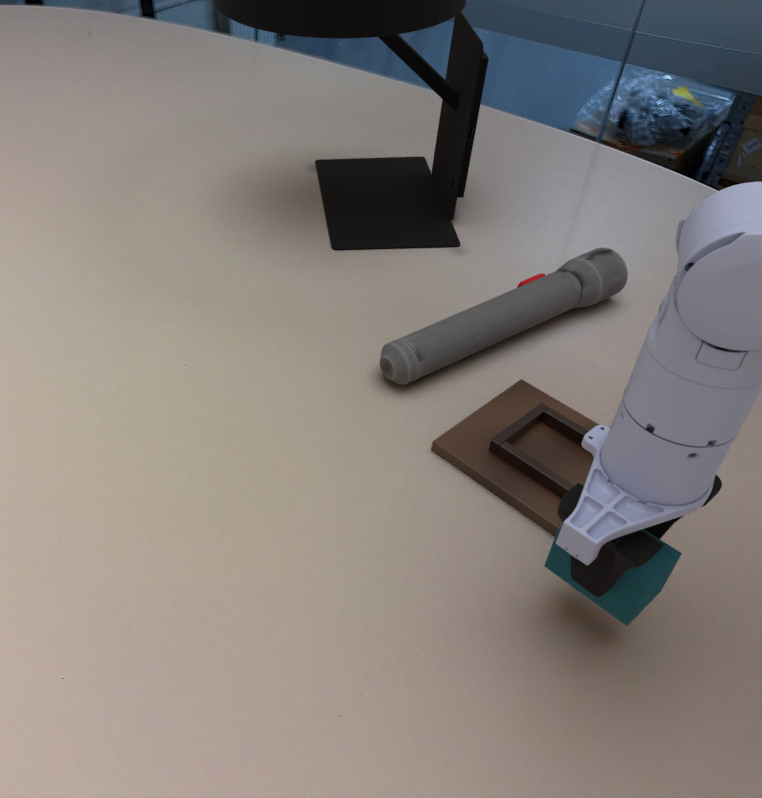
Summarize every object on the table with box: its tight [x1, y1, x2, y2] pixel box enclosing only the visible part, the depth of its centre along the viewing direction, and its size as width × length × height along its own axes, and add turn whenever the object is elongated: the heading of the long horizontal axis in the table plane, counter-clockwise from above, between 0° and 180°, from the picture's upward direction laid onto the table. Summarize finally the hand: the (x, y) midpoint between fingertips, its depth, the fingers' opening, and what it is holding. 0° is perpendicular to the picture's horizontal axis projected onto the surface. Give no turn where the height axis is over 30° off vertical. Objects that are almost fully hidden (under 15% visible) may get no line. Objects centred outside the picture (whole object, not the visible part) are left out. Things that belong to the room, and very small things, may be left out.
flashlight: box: [379, 247, 629, 386], centre depth 77 cm, size 5×28×5 cm
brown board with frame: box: [430, 378, 600, 537], centre depth 65 cm, size 16×12×2 cm
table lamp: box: [213, 0, 490, 251], centre depth 85 cm, size 26×28×40 cm
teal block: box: [544, 526, 683, 627], centre depth 52 cm, size 6×4×4 cm, turn 39°
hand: (607, 565), depth 52 cm, fingers closed on teal block, 4 cm apart
